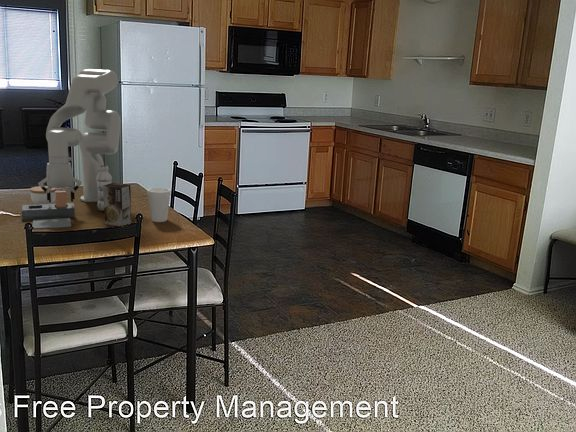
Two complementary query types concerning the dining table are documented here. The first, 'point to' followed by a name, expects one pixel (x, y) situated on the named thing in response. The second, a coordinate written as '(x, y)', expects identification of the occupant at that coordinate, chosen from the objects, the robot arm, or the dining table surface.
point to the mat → (51, 223)
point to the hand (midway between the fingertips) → (61, 201)
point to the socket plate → (47, 211)
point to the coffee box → (117, 204)
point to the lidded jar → (42, 195)
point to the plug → (60, 199)
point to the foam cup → (158, 203)
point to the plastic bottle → (102, 184)
